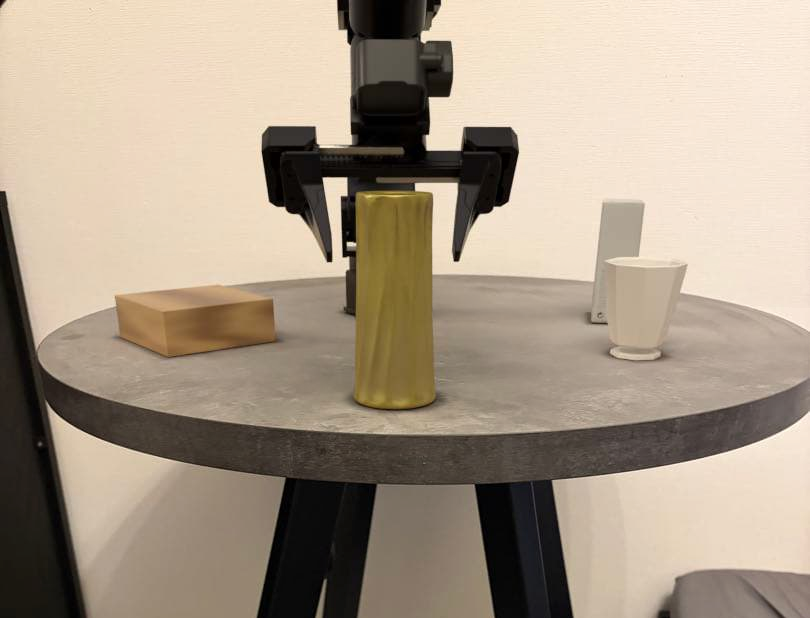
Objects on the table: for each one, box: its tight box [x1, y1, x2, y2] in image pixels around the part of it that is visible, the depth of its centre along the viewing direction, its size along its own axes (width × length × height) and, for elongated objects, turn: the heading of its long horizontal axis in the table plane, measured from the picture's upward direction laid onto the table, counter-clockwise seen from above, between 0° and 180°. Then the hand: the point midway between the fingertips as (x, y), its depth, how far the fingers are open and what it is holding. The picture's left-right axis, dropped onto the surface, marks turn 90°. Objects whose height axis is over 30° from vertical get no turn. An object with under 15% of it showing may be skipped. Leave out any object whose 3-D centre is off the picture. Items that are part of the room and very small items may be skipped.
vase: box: [353, 190, 437, 410], centre depth 62 cm, size 6×6×14 cm
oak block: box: [114, 284, 276, 358], centre depth 83 cm, size 11×11×4 cm
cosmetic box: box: [590, 198, 646, 324], centre depth 91 cm, size 6×4×12 cm
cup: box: [604, 256, 689, 361], centre depth 78 cm, size 7×10×8 cm
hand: (393, 258), depth 62 cm, fingers open, 9 cm apart
